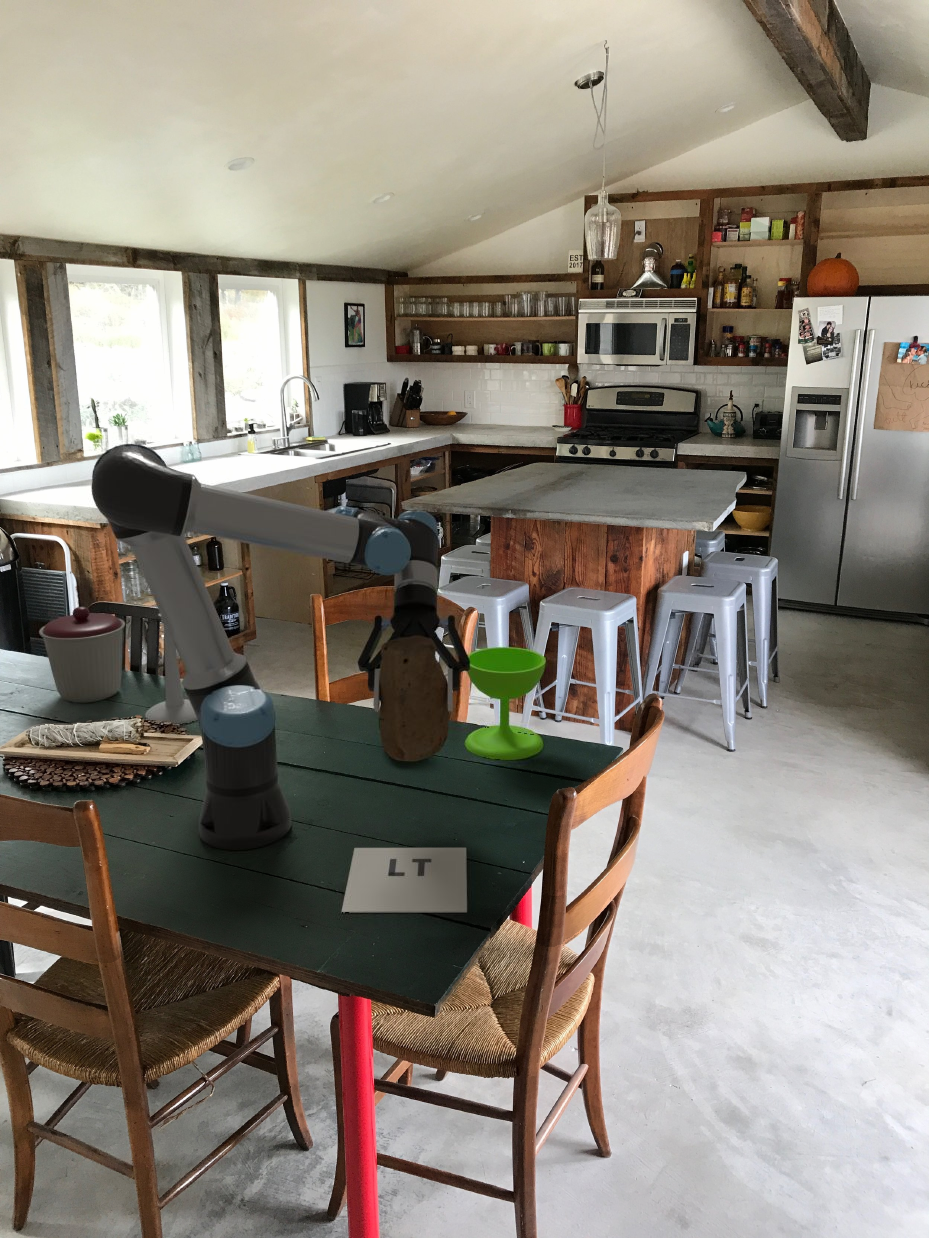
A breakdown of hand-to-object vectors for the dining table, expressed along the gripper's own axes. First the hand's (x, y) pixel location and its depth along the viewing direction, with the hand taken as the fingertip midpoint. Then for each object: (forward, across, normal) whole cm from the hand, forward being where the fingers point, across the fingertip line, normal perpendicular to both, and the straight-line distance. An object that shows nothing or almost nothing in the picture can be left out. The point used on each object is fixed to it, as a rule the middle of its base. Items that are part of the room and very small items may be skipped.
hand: (413, 708), depth 159 cm
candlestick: (-20, +54, -50) cm, 77 cm away
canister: (-29, +78, -58) cm, 101 cm away
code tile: (+27, 0, -2) cm, 27 cm away
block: (+5, 0, -8) cm, 10 cm away
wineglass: (-9, -16, -39) cm, 43 cm away
